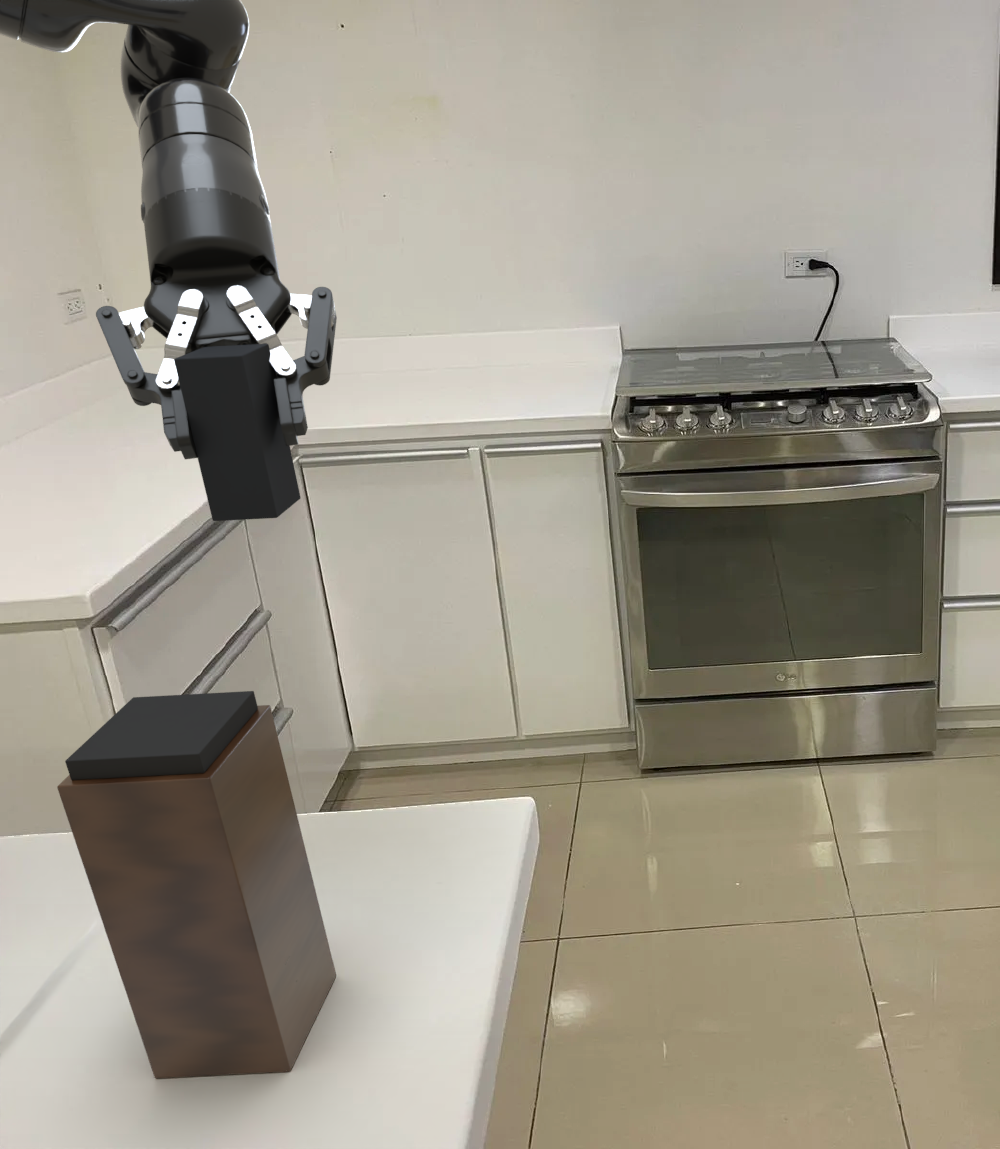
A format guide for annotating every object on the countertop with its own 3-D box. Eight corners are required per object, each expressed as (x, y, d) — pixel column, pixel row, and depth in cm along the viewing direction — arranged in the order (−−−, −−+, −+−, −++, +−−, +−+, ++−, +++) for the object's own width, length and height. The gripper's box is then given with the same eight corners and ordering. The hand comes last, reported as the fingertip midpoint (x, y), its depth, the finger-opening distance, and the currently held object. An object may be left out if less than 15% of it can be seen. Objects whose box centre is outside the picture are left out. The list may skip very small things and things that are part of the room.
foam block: (212, 521, 69) (172, 358, 65) (239, 501, 72) (203, 346, 69) (277, 518, 69) (241, 355, 65) (301, 498, 72) (268, 343, 69)
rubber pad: (70, 780, 58) (64, 760, 58) (138, 715, 65) (133, 696, 65) (204, 773, 58) (198, 753, 58) (258, 708, 65) (253, 690, 64)
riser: (154, 1078, 65) (55, 786, 58) (214, 982, 73) (134, 711, 65) (290, 1071, 65) (209, 778, 58) (337, 975, 73) (270, 704, 65)
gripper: (331, 255, 79) (370, 461, 73) (103, 273, 74) (124, 494, 68) (317, 177, 72) (358, 395, 66) (66, 191, 68) (85, 427, 62)
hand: (239, 444), depth 67 cm, fingers closed on foam block, 5 cm apart
